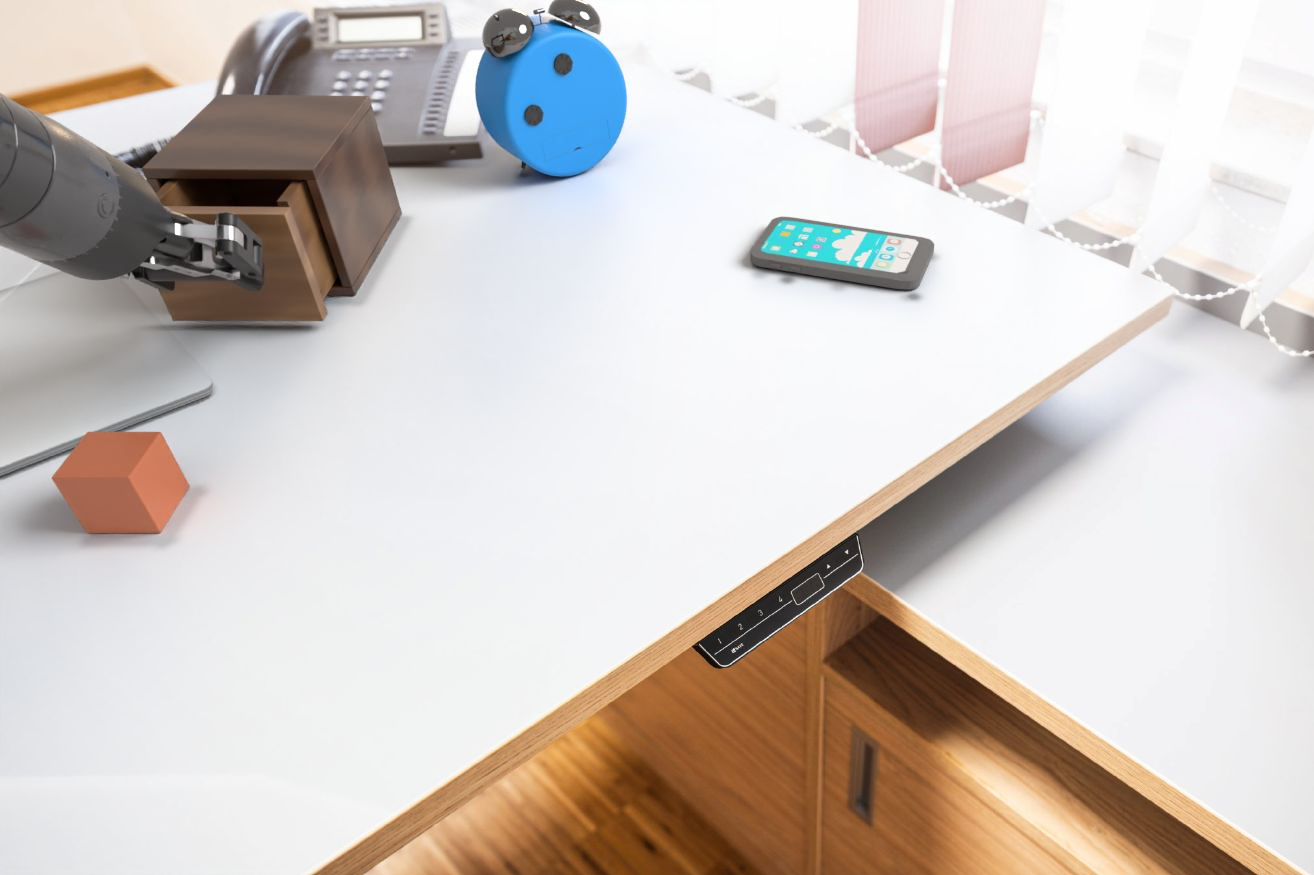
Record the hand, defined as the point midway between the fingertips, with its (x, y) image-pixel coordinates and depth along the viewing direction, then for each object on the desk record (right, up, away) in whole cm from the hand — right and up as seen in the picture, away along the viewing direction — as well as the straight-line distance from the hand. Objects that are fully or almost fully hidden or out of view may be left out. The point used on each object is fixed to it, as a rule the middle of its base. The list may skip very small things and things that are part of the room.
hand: (212, 277), depth 76 cm
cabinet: (-1, +6, +15) cm, 16 cm away
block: (+1, -17, -9) cm, 20 cm away
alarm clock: (+18, +18, +28) cm, 38 cm away
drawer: (0, +1, +8) cm, 8 cm away
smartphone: (+46, +6, +16) cm, 49 cm away
